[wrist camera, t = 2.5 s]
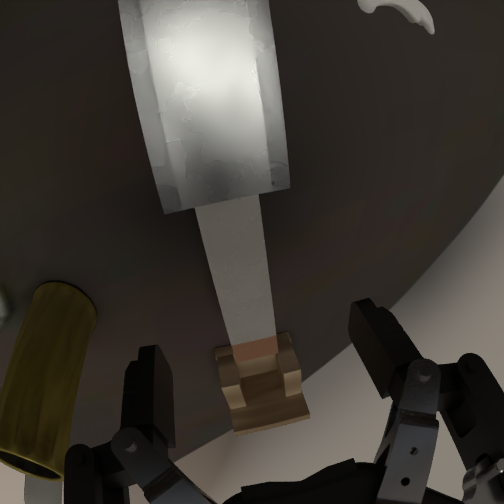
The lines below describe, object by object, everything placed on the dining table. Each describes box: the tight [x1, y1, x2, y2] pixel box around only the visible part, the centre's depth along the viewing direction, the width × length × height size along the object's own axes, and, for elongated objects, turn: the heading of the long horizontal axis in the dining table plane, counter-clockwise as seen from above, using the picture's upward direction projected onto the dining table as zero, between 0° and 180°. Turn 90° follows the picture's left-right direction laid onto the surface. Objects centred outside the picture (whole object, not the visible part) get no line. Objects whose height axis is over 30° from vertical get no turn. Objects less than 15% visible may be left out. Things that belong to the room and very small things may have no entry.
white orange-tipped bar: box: [195, 194, 278, 363], centre depth 16 cm, size 22×3×4 cm, turn 8°
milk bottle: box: [24, 475, 62, 504], centre depth 31 cm, size 8×8×20 cm
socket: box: [214, 332, 310, 436], centre depth 26 cm, size 5×7×7 cm
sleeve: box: [118, 0, 291, 214], centre depth 12 cm, size 11×5×7 cm, turn 8°
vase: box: [0, 282, 97, 482], centre depth 16 cm, size 6×6×14 cm
